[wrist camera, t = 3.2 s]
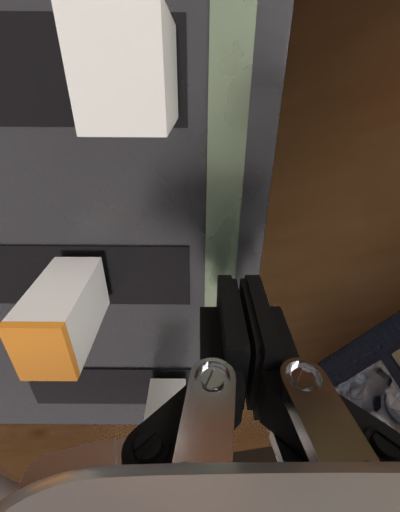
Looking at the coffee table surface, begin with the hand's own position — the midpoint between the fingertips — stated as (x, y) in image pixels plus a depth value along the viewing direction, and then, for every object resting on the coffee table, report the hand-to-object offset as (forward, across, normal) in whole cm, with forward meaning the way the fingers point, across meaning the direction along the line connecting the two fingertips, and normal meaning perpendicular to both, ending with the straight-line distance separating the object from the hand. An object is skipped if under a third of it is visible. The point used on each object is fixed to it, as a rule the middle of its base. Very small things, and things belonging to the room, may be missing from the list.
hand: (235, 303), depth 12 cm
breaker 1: (+1, +3, -8) cm, 9 cm away
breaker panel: (+5, +7, 0) cm, 8 cm away
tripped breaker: (+1, +7, 0) cm, 7 cm away
